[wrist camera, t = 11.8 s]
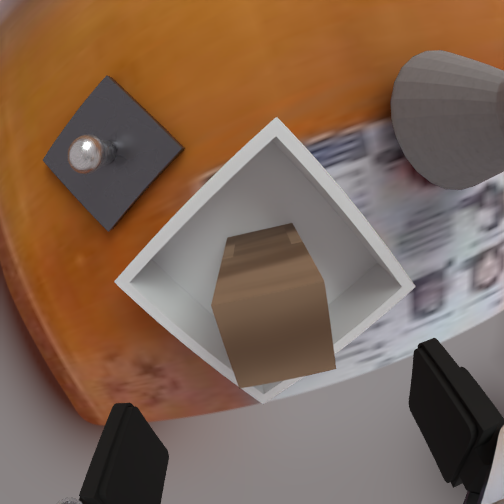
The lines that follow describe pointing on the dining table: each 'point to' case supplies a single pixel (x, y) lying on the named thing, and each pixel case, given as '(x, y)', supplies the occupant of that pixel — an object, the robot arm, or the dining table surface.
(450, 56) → the coffee pot
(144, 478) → the robot arm
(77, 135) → the stud plate
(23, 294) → the dining table surface
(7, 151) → the dining table surface
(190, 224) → the grey bin
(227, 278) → the walnut post
